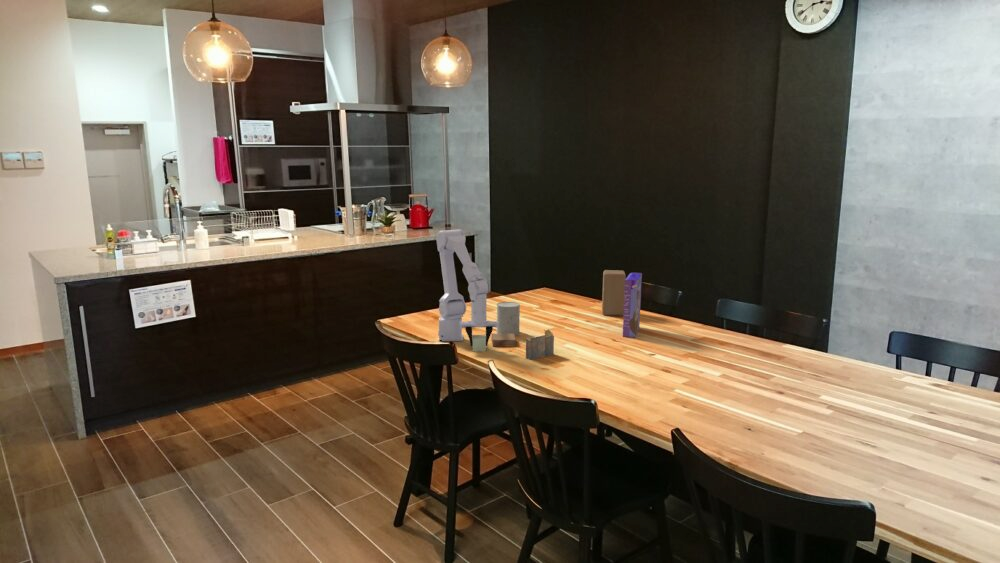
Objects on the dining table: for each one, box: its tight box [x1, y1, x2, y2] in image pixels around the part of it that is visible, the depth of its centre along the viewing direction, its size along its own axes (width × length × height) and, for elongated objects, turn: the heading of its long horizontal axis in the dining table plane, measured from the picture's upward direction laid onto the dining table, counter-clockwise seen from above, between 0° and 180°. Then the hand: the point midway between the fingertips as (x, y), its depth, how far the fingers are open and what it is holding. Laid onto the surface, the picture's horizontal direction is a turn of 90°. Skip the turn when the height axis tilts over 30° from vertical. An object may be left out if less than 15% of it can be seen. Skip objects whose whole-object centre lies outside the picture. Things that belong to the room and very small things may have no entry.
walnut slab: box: [491, 333, 517, 347], centre depth 248 cm, size 9×9×2 cm
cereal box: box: [622, 272, 643, 339], centre depth 263 cm, size 17×5×24 cm, turn 161°
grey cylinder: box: [496, 301, 521, 336], centre depth 261 cm, size 10×10×12 cm
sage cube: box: [471, 334, 487, 352], centre depth 240 cm, size 5×5×5 cm
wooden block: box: [601, 269, 627, 317], centre depth 294 cm, size 10×10×20 cm
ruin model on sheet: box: [525, 328, 555, 361], centre depth 231 cm, size 11×3×10 cm, turn 128°
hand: (479, 345), depth 240 cm, fingers closed on sage cube, 5 cm apart
